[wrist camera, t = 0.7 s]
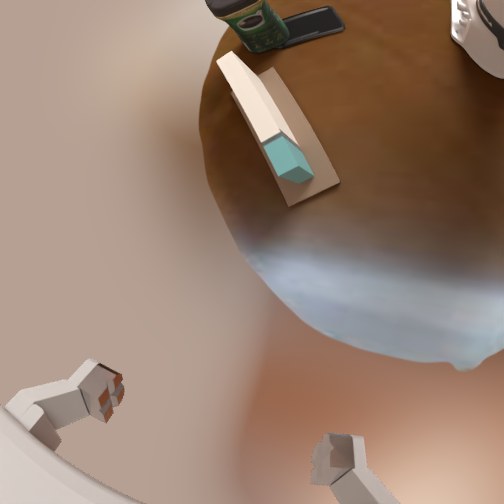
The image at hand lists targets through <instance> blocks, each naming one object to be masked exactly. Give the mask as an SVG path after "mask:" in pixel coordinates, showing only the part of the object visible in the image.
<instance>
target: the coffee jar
mask: <svg viewBox="0 0 504 504" xmlns="http://www.w3.org/2000/svg"><path fill="white" fill-rule="evenodd" d="M205 2H206V4H207V6H208V8H209V9H210V10H211V12H212V13H213V15H214V16H215V17H216V18H218V19H221V20H223V21H225V22H226V23H227V24H229V25H230V26H231V28H232V29H233V30H234V31H235V32H236V34H237V35H238V36H239V38H240V39H241V41H242V42H243V43H244V45H245V46H246V47H247V48H248V50H249V51H251V52H253V53H260V52H264V51H267V50H270V49H273V48H275V47H277V46H280V45H282V44H284V43H285V42H286V41H287V40H288V39H289V31H288V28H287V27H286V25H285V23H284V22H283V21H282V19H281V18H280V17H279V16H278V15H277V14H276V13H275V12H274V10H273V9H272V8H271V7H270V6H269V5H268V3H267V2H266V0H205Z"/></svg>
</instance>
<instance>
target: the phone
mask: <svg viewBox="0 0 504 504" xmlns="http://www.w3.org/2000/svg"><path fill="white" fill-rule="evenodd" d="M282 21H283V22H284V23H285V25H286V27H287V28H288V31H289V39H288V40H287V41H286V42H285V43H284V44H282V45H280V46H277V48H279V49H283V48H286V47H289V46H292V45H295V44H298V43H301V42H304V41H307V40H310V39H314V38H317V37H321V36H324V35H328V34H332V33H336V32H340V31H343V30H344V29H345V25H344V23H343V21H342V20H341V18H340V17H339V15H338V14H337V12H336V11H335V9H334V8H333V7H331V6H325V7H321V8H317V9H314V10H310V11H307V12H303V13H300V14H297V15H294V16H291V17H288V18H285V19H282Z"/></svg>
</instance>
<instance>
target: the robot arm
mask: <svg viewBox="0 0 504 504" xmlns="http://www.w3.org/2000/svg"><path fill="white" fill-rule="evenodd" d="M451 37H452V38H453V39H454V40H455V41H456V42H457V43H458V44H460V45H461V46H462V47H463V48H464V49H465V50H466V52H467V53H468V54H469V56H470V57H471V58H472V59H473V60H474V61H475V62H476V63H477V64H478V65H479V66H480V67H481V68H483V69H484V70H485V71H487V72H488V73H490V74H491V75H493V76H495V77H498V78H501V79H504V0H451ZM122 380H123V378H122V374H120V373H118V372H116V371H114V370H112V369H110V368H109V367H107V366H105V365H103V364H101V363H99V362H97V361H95V360H94V359H92V358H90V359H88V360H86V361H85V362H84V363H83V364H82V365H81V366H80V368H79V369H78V370H77V371H76V372H75V373H74V374H73V375H72V376H71V377H70V378H69V379H68V380H65V379H63V380H60V381H56V382H52V383H48V384H44V385H40V386H36V387H32V388H27V389H23V390H20V391H19V392H18V393H17V395H15V396H14V397H13V398H12V399H11V400H10V401H9V402H8V404H7V405H6V406H5V407H4V408H3V407H2V406H1V405H0V504H145V503H143V502H140V501H138V500H136V499H133V498H131V497H129V496H127V495H125V494H123V493H121V492H119V491H117V490H115V489H113V488H111V487H109V486H107V485H106V484H104V483H102V482H100V481H98V480H97V479H95V478H93V477H91V476H90V475H88V474H86V473H85V472H83V471H82V470H80V469H78V468H77V467H75V466H74V465H72V464H71V463H69V462H68V461H66V460H65V459H63V458H62V457H60V456H59V455H58V454H56V453H55V452H54V451H55V450H56V449H57V447H58V446H59V444H60V443H61V438H60V437H59V435H58V434H57V432H56V430H57V429H59V428H61V427H64V426H66V425H69V424H71V423H73V422H76V421H78V420H80V419H82V418H85V417H87V416H89V415H91V416H93V417H95V418H97V419H99V420H100V421H102V422H104V423H107V422H108V420H109V419H110V417H111V416H112V414H113V407H116V406H119V404H120V403H121V401H122V399H123V396H124V386H123V385H122V383H121V381H122ZM322 438H323V439H322V441H321V442H318V443H317V444H316V446H315V448H314V450H313V453H312V461H311V462H312V463H313V465H314V466H315V467H314V468H313V469H312V470H311V482H310V484H315V485H329V486H330V488H331V490H332V491H333V493H334V495H335V497H336V498H337V500H338V501H339V503H340V504H400V502H399V501H398V500H397V499H396V498H395V497H394V496H393V495H392V493H391V492H390V491H389V490H388V489H387V488H386V486H385V485H384V484H383V483H382V482H381V481H380V479H379V478H378V477H377V476H376V475H375V473H374V472H373V471H372V470H371V469H367V461H366V452H365V445H364V438H363V437H362V436H357V435H346V434H333V433H326V434H325V435H324V436H323V437H322Z"/></svg>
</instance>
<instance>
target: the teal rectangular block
mask: <svg viewBox="0 0 504 504" xmlns="http://www.w3.org/2000/svg"><path fill="white" fill-rule="evenodd" d="M262 146H263V147H264V149H265V151H266V153H267V155H268V157H269V159H270V161H271V163H272V165H273V167H274V169H275V171H276V173H277V175H278V176H279V177H282V178H284V179H287V180H290V181H293V182H295V183H298V184H300V183H302V182H304V181H306V180H308V179H310V178H312V177H314V174H313V172H312V170H311V168H310V166H309V164H308V162H307V160H306V158H305V156H304V155H303V152H302V150H300V149H299V148H298V147H297V146H296V145H295V144H294V143H292V142H291V141H290V140H289V139H288V138H287V137H285V136H284V135H283V134H282V133H281V134H280V135H278V136H276V137H274V138H272V139H271V140H269V141H267V142H265V143H264V144H262Z"/></svg>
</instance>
